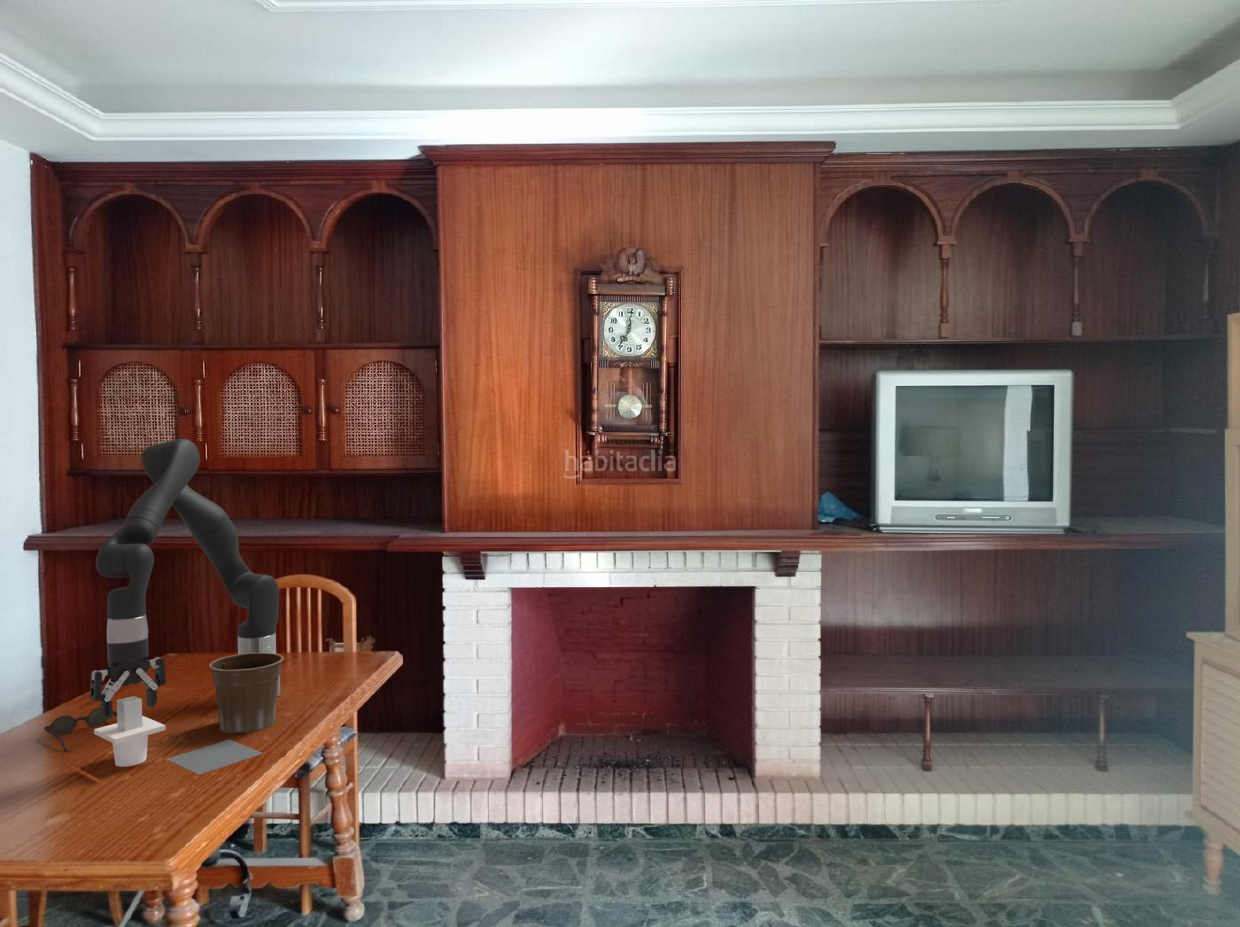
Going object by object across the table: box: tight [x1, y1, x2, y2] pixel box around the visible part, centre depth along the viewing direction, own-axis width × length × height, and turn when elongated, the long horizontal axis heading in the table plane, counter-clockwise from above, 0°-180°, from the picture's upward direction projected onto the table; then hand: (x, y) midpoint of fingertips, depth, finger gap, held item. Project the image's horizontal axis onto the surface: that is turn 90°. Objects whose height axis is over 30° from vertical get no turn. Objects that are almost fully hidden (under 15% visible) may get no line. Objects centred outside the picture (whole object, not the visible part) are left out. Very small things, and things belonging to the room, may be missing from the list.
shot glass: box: [111, 735, 149, 768], centre depth 179 cm, size 7×7×7 cm
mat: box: [166, 739, 264, 776], centre depth 181 cm, size 14×14×1 cm
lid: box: [93, 695, 167, 744], centre depth 178 cm, size 10×10×7 cm
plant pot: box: [208, 653, 284, 735], centre depth 201 cm, size 16×16×16 cm
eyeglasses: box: [43, 706, 117, 753], centre depth 195 cm, size 15×15×5 cm
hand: (129, 712), depth 178 cm, fingers open, 8 cm apart
